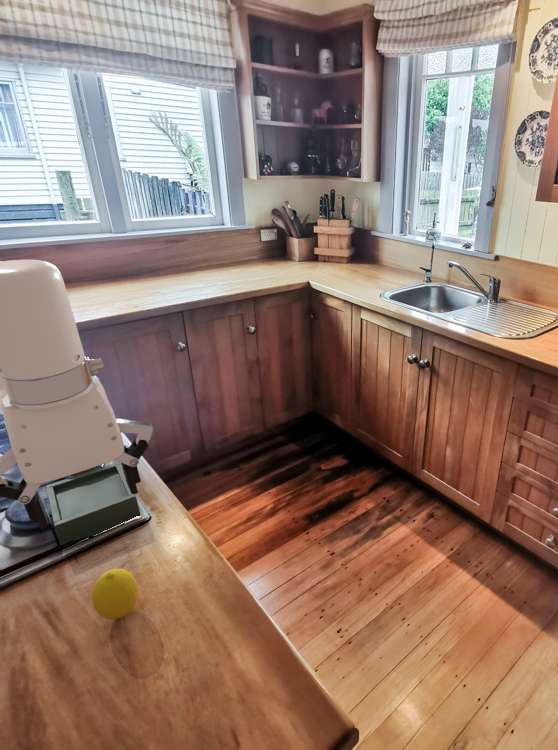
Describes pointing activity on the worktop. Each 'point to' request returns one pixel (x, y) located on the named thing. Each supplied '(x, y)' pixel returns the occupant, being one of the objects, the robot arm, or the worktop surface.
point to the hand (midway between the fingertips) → (90, 503)
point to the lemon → (115, 593)
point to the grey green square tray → (91, 503)
